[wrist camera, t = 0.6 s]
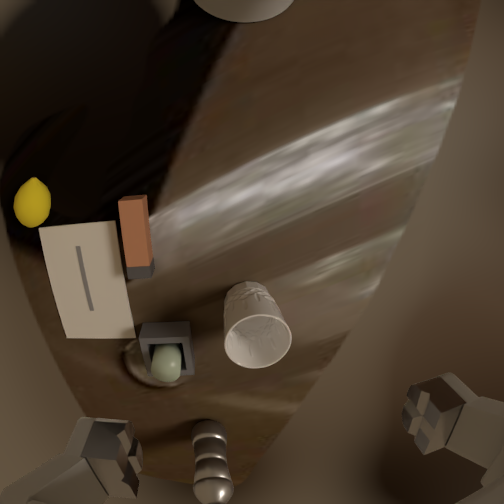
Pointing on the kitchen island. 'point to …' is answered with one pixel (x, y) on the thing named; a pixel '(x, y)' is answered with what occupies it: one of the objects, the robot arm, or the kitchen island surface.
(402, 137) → the kitchen island surface
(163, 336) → the button housing
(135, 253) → the block
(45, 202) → the lemon
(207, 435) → the plastic bottle
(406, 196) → the kitchen island surface
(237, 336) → the white cup
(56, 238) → the paper
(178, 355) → the button
